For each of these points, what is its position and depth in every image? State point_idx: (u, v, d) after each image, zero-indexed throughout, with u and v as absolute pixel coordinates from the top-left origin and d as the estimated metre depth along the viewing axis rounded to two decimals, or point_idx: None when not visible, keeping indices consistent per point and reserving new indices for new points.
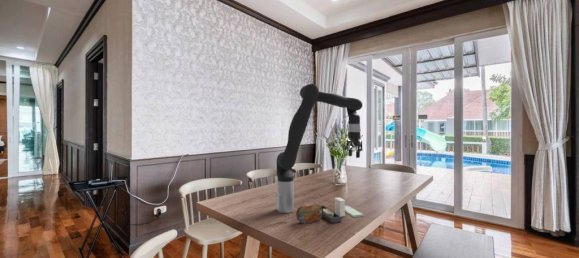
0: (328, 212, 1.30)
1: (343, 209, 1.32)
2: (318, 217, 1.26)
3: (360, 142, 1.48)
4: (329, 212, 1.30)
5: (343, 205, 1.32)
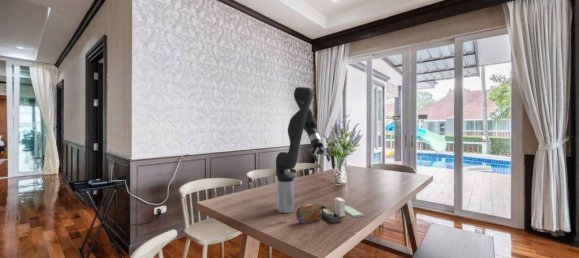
0: (328, 212, 1.30)
1: (343, 209, 1.32)
2: (318, 217, 1.26)
3: None
4: (329, 212, 1.30)
5: (343, 205, 1.32)
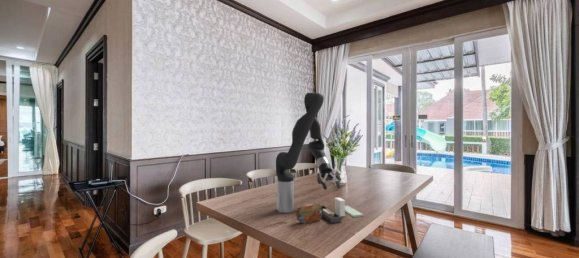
0: (328, 212, 1.30)
1: (343, 209, 1.32)
2: (318, 217, 1.26)
3: None
4: (329, 212, 1.30)
5: (343, 205, 1.32)
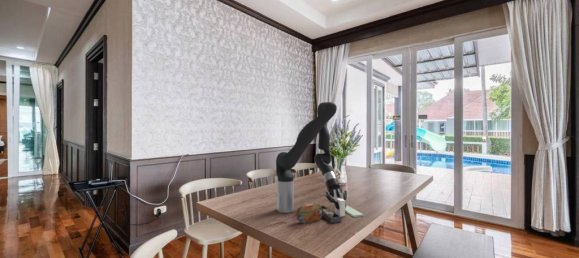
0: (328, 212, 1.30)
1: (343, 209, 1.32)
2: (318, 217, 1.26)
3: None
4: (329, 212, 1.30)
5: (343, 205, 1.32)
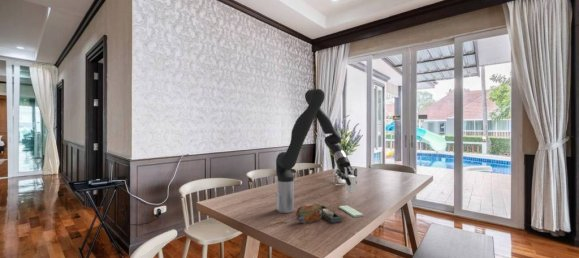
0: (328, 212, 1.30)
1: (354, 185, 1.36)
2: (318, 217, 1.26)
3: None
4: (329, 212, 1.30)
5: (354, 181, 1.36)
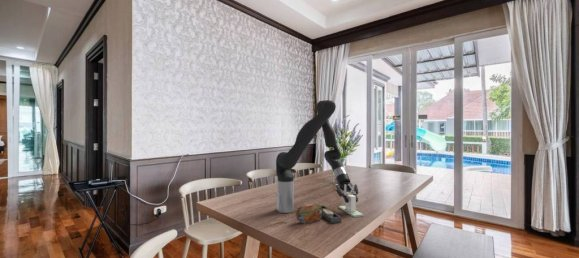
0: (328, 212, 1.30)
1: (354, 205, 1.36)
2: (318, 217, 1.26)
3: None
4: (329, 212, 1.30)
5: (354, 201, 1.36)
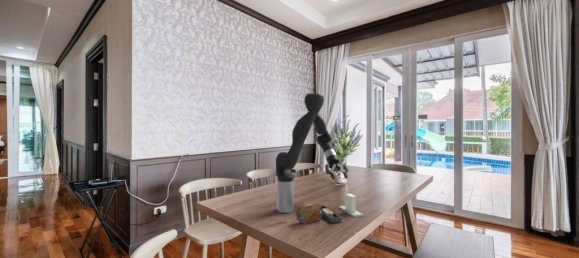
0: (328, 212, 1.30)
1: (354, 205, 1.36)
2: (318, 217, 1.26)
3: None
4: (329, 212, 1.30)
5: (354, 201, 1.36)
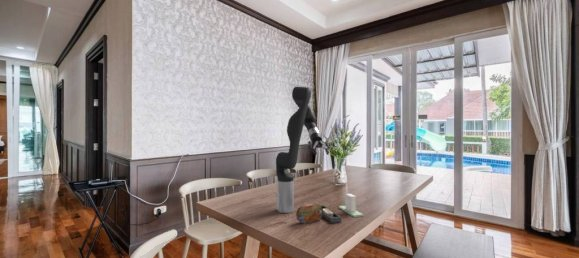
0: (327, 212, 1.30)
1: (354, 205, 1.36)
2: (318, 217, 1.26)
3: None
4: (328, 212, 1.30)
5: (354, 201, 1.36)
